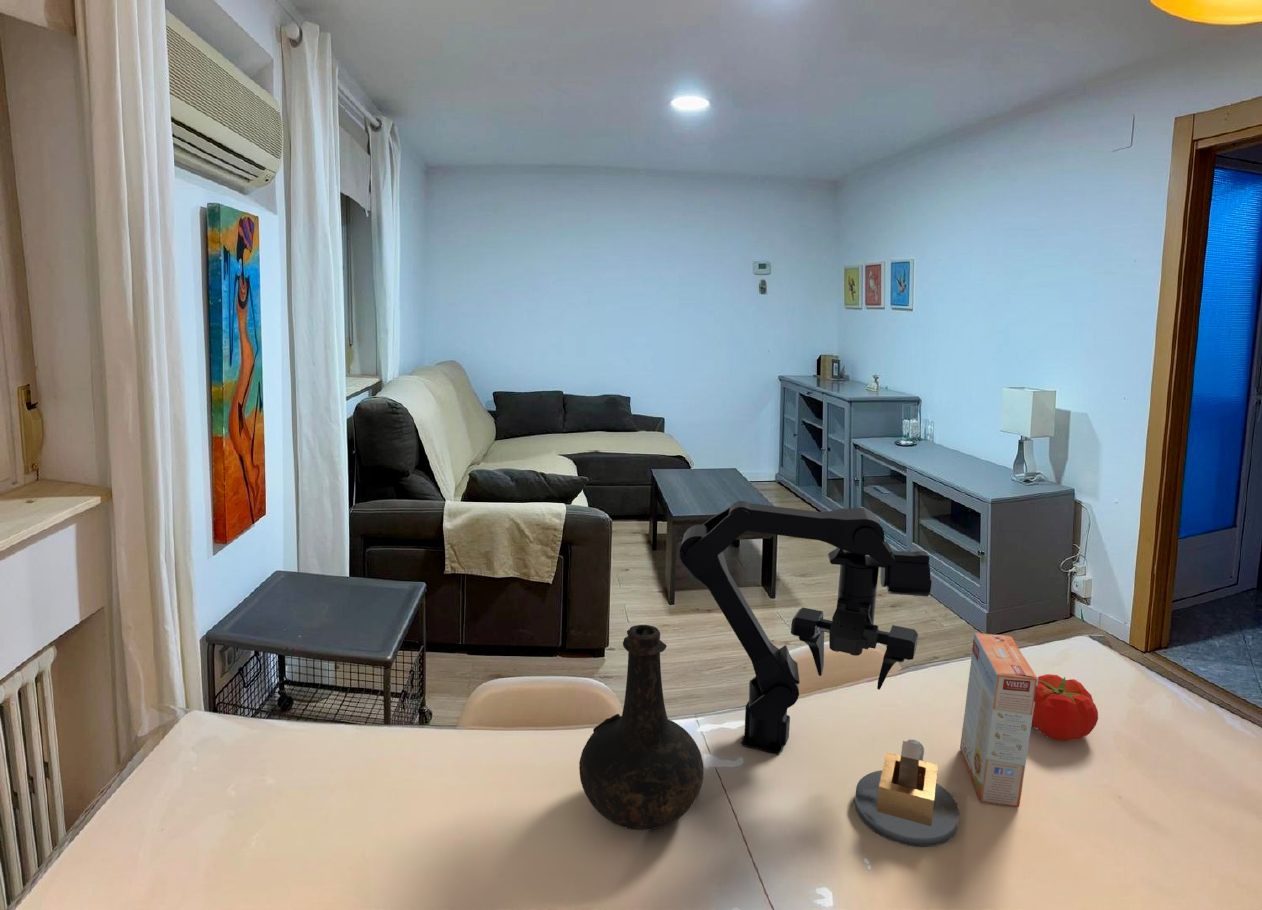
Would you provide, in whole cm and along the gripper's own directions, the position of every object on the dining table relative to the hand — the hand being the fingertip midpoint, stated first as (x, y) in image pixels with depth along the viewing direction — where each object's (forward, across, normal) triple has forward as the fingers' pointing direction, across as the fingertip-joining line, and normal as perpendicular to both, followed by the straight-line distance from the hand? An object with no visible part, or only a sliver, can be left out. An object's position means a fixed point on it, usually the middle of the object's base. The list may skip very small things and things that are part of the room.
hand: (849, 681), depth 124 cm
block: (+10, +11, -12) cm, 19 cm away
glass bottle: (+12, -23, -28) cm, 39 cm away
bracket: (+12, +11, -10) cm, 19 cm away
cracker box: (+12, +22, +2) cm, 25 cm away
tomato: (+12, +31, +22) cm, 40 cm away
